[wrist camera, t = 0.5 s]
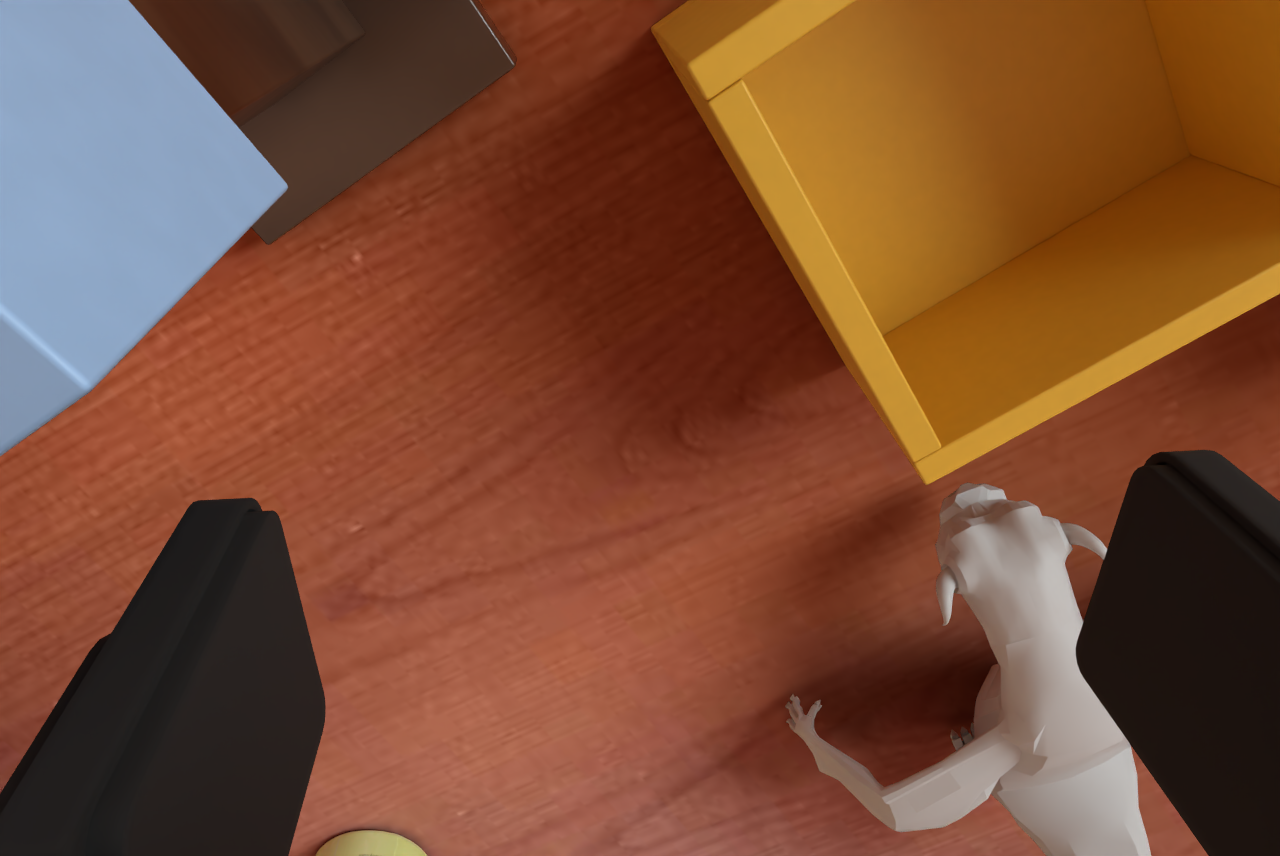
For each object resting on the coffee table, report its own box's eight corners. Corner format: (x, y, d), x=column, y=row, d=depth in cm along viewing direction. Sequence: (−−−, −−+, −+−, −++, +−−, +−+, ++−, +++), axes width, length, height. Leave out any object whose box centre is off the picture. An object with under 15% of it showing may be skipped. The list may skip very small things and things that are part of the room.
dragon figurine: (1267, 534, 33) (1496, 702, 25) (1060, 820, 39) (1188, 1041, 30) (918, 412, 31) (1035, 551, 22) (750, 735, 37) (791, 947, 28)
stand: (28, -49, 20) (-735, -4, 8) (291, -280, 19) (-181, -649, 7) (279, 232, 24) (7, 547, 12) (517, 59, 22) (481, 221, 10)
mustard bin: (649, 27, 22) (685, 65, 16) (1080, -279, 20) (1303, -363, 14) (846, 366, 28) (926, 486, 22) (1204, 156, 25) (1403, 227, 19)
